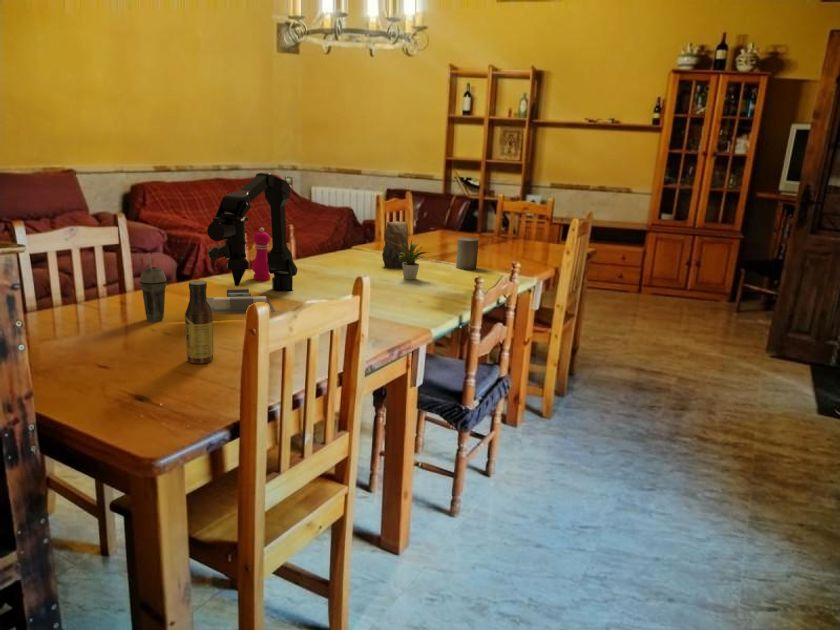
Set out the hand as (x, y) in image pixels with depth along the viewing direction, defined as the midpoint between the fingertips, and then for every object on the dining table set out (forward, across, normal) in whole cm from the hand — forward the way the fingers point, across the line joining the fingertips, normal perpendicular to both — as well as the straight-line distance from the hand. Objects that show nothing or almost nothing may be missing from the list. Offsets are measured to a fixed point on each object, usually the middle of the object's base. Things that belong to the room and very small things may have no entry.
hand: (236, 285), depth 199 cm
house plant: (+9, -40, +71) cm, 82 cm away
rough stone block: (+10, -66, +75) cm, 100 cm away
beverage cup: (+7, +10, -24) cm, 27 cm away
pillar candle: (+10, -62, +107) cm, 124 cm away
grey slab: (+8, -3, +1) cm, 8 cm away
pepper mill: (+8, -43, +12) cm, 46 cm away
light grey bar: (+7, 0, +1) cm, 7 cm away
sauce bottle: (+7, +47, -12) cm, 49 cm away
